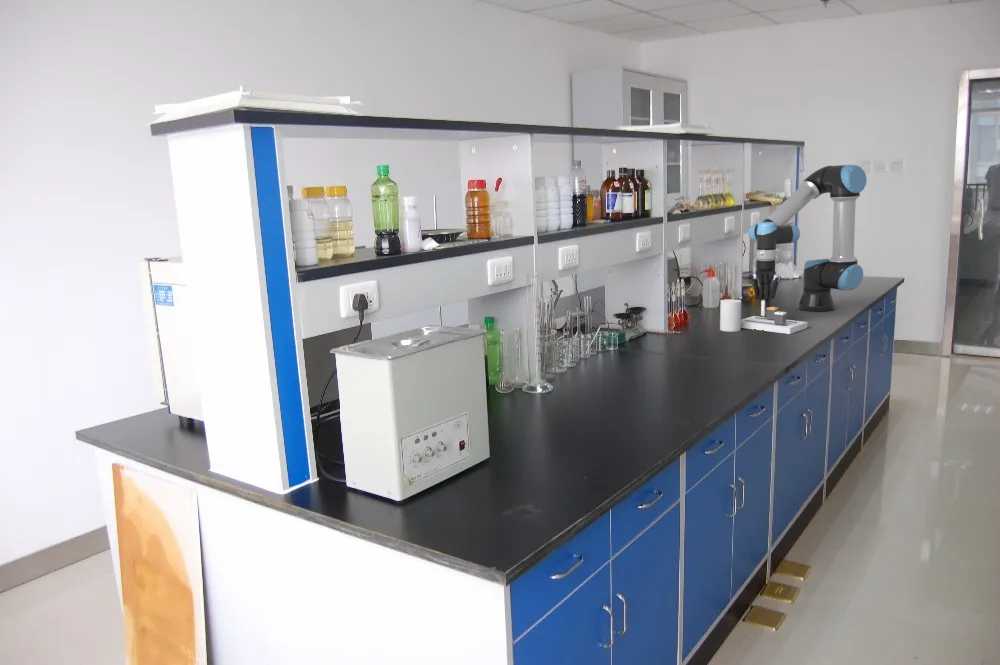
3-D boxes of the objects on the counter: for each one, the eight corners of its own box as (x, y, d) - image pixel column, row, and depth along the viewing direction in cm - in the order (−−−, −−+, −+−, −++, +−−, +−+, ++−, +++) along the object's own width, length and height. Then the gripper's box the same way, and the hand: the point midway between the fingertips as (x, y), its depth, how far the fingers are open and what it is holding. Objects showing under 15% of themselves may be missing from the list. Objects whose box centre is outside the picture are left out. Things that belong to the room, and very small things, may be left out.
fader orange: (769, 317, 310) (770, 306, 309) (777, 318, 307) (778, 307, 306) (766, 318, 308) (766, 307, 307) (774, 319, 305) (774, 308, 304)
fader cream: (777, 322, 299) (777, 311, 298) (786, 323, 296) (786, 312, 295) (774, 323, 297) (774, 312, 296) (782, 324, 294) (783, 313, 293)
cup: (738, 327, 307) (738, 299, 305) (742, 331, 299) (743, 302, 297) (718, 327, 308) (718, 299, 306) (722, 331, 300) (722, 302, 298)
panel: (753, 321, 318) (753, 315, 317) (807, 327, 300) (807, 321, 300) (735, 327, 308) (735, 320, 308) (789, 334, 291) (790, 327, 290)
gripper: (746, 259, 307) (745, 314, 312) (776, 261, 298) (774, 318, 303) (756, 257, 312) (754, 312, 317) (785, 259, 303) (783, 315, 308)
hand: (764, 315), depth 310 cm, fingers closed
